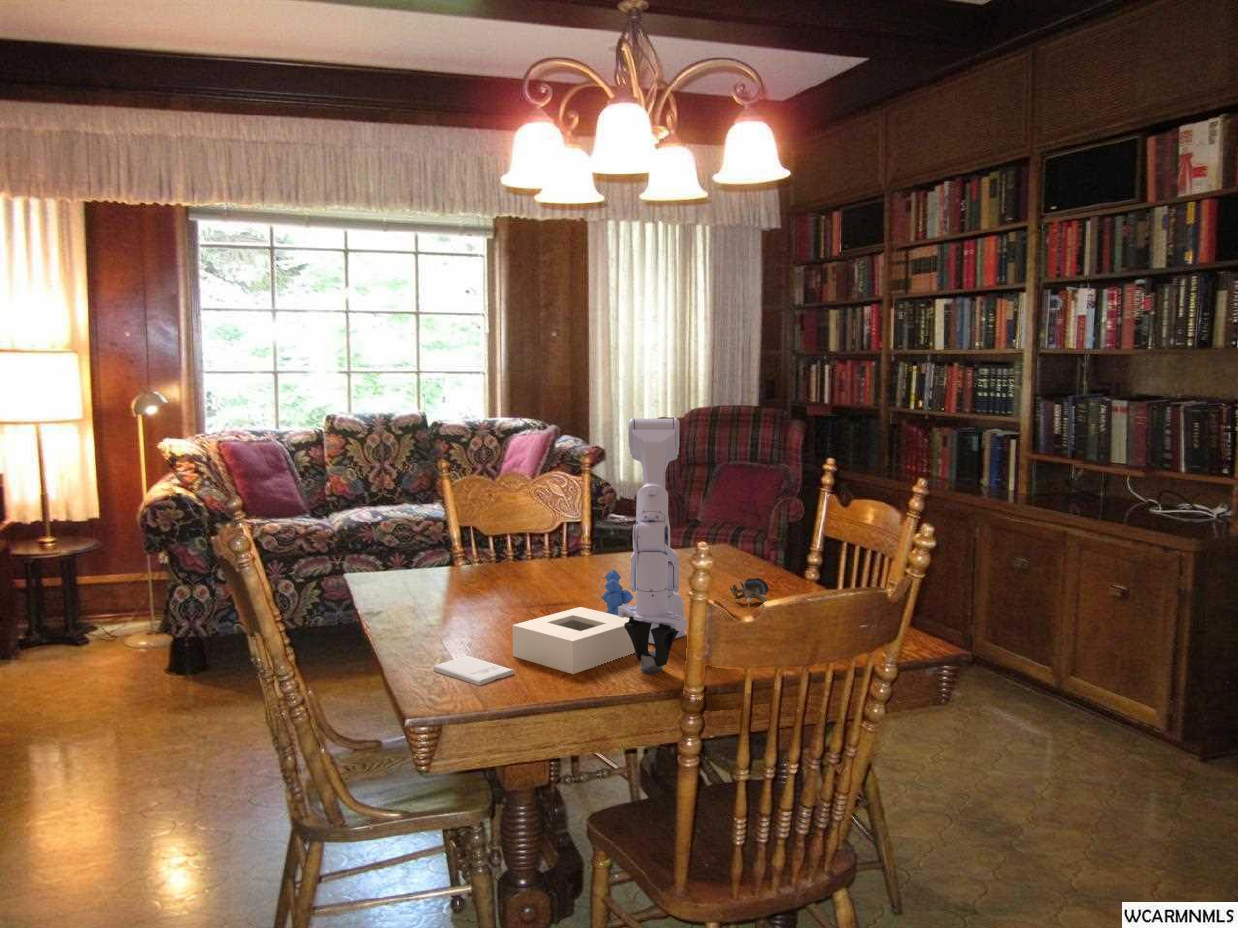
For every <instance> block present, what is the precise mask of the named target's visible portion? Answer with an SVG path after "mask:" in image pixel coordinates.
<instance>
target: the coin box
mask: <svg viewBox="0 0 1238 928" xmlns="http://www.w3.org/2000/svg"><path fill="white" fill-rule="evenodd" d="M626 622H629V618H627V617H624V618H621V617H618V616H617V615H613V614H609V613H605V612H604V611H600V610H594V609H590V608H587V607H582V606H579V607H574V608H571V609H567V610H564V611H560V612H556V613H552V614H549V615H545V616H544V615H543V616H541V617H538V618H534V619H529V620H526V621H522V622H519V623H514V624H512V625H511V626H512V628H511V629H512V656H513V657H515V658H517V659H522V660H525V661H527V662H531V663H535V664H537V665H541V666H544V667H548V668H551V669H553V670H558V671H561V672H564V673H567V674H571V675H574V674H578V673H580V672H584V671H586V670H589V669H593V668H596V667H599V666H601V664H602V665H605V664H607V662H608V663H610V661H611V662H613V660H614V661H616V660H615V659H617V660H619V659H618V658H620V659H621V657H623V658H625V656H626V657H629V656H631V655H630V654H632V655H634V654H633V653H635V649H634V646H633V643H632V640H631V638H630V636H629V634H628V632H627V630H626V629H625V627H624V624H625V623H626ZM635 654H636V653H635ZM628 655H629V656H628ZM604 663H605V664H604ZM598 665H599V666H598ZM595 666H596V667H595Z"/></svg>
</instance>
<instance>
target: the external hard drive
mask: <svg viewBox="0 0 1238 928" xmlns="http://www.w3.org/2000/svg"><path fill="white" fill-rule="evenodd" d="M433 671H434V672H437V673H438V674H439V673H440V674H443V675H445V676H448V677H451V678H455V679H457V678H458V680H460V679H461V681H464V682H467V683H470V684H473V685H476V686H482V685H486V684H488V683H491V682H494V681H497V680H498V679H499V680H501V679H503V678H506V677H510V676H512V675H514V674H515V670H514V669H512V668H508V667H505V666H502V665H500V664H496V663H493V662H490V661H487V660H483V659H480V658H476V657H474V656H469V655H464V656H461V657H458V658H455V659H451V660H447V661H444V662H442V663H438V664H435V665H434V666H433Z"/></svg>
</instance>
